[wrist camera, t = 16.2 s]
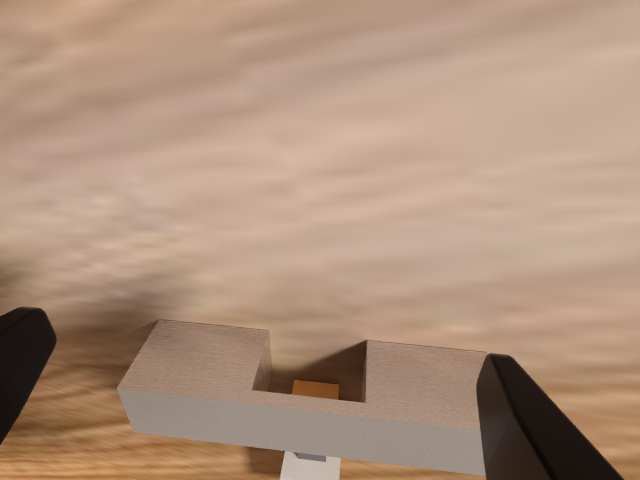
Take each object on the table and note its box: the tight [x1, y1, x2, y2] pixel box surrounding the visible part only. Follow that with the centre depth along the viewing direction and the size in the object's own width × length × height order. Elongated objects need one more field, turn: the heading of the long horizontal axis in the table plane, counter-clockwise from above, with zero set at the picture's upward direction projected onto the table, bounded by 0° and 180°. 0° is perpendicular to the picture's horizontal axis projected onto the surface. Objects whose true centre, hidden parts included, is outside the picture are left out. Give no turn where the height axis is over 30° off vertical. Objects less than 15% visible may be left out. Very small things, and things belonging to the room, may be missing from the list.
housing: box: [117, 320, 487, 476], centre depth 24 cm, size 4×20×5 cm, turn 89°
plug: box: [280, 380, 341, 480], centre depth 29 cm, size 10×4×4 cm, turn 179°
